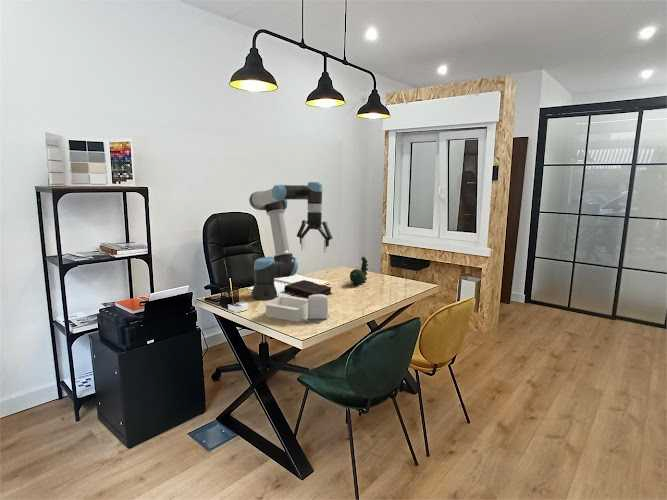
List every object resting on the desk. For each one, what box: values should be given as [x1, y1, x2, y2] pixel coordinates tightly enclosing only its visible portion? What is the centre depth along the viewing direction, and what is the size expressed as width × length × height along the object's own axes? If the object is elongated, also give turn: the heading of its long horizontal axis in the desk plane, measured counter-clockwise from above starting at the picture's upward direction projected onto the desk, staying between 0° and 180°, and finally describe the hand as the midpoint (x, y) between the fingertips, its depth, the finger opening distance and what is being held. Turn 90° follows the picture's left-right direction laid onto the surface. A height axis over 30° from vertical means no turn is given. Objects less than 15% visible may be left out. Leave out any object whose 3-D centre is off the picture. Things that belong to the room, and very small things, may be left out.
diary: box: [283, 279, 333, 299], centre depth 248 cm, size 19×25×5 cm
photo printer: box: [307, 294, 329, 320], centre depth 200 cm, size 10×4×12 cm, turn 97°
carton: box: [262, 294, 308, 323], centre depth 205 cm, size 19×19×7 cm
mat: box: [306, 314, 330, 324], centre depth 201 cm, size 7×12×1 cm, turn 156°
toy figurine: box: [349, 256, 369, 287], centre depth 271 cm, size 9×19×25 cm
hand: (314, 251), depth 212 cm, fingers open, 13 cm apart
